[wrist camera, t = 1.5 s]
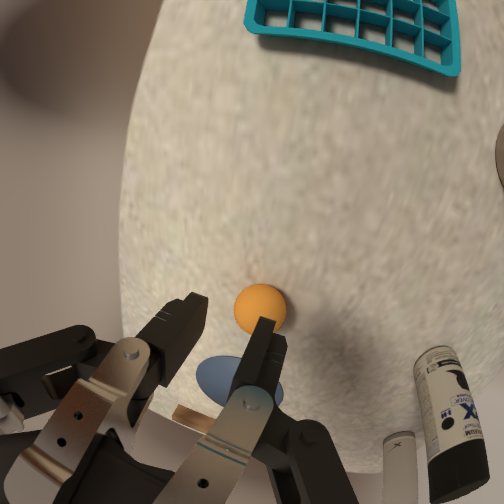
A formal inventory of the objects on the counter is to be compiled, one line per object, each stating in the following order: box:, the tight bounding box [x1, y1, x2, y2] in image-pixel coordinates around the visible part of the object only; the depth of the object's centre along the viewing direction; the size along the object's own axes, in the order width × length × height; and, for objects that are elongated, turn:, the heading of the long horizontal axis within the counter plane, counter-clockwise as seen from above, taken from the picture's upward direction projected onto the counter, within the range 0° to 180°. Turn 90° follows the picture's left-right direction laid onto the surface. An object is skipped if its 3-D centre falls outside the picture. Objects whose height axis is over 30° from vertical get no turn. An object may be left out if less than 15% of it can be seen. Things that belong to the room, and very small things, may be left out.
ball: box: [234, 284, 286, 335], centre depth 28 cm, size 6×6×6 cm
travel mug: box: [382, 431, 418, 504], centre depth 27 cm, size 6×7×20 cm
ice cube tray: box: [244, 0, 461, 77], centre depth 15 cm, size 12×20×3 cm, turn 82°
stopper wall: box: [172, 405, 216, 434], centre depth 43 cm, size 20×2×3 cm, turn 78°
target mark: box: [196, 356, 283, 407], centre depth 38 cm, size 14×14×1 cm
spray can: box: [414, 346, 490, 504], centre depth 19 cm, size 7×7×20 cm
